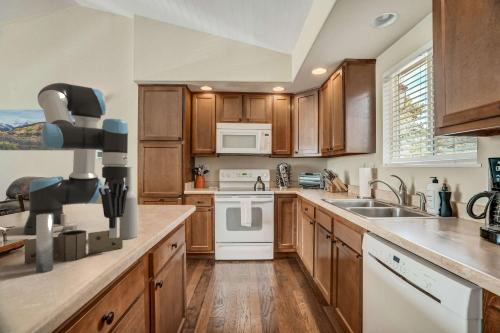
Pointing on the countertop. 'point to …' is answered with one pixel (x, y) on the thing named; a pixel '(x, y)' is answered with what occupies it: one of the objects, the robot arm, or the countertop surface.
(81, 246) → the knuckle and fixed leaf
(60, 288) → the countertop surface
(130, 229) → the bottle
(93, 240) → the loose leaf
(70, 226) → the pipe connector
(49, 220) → the hinge pin
